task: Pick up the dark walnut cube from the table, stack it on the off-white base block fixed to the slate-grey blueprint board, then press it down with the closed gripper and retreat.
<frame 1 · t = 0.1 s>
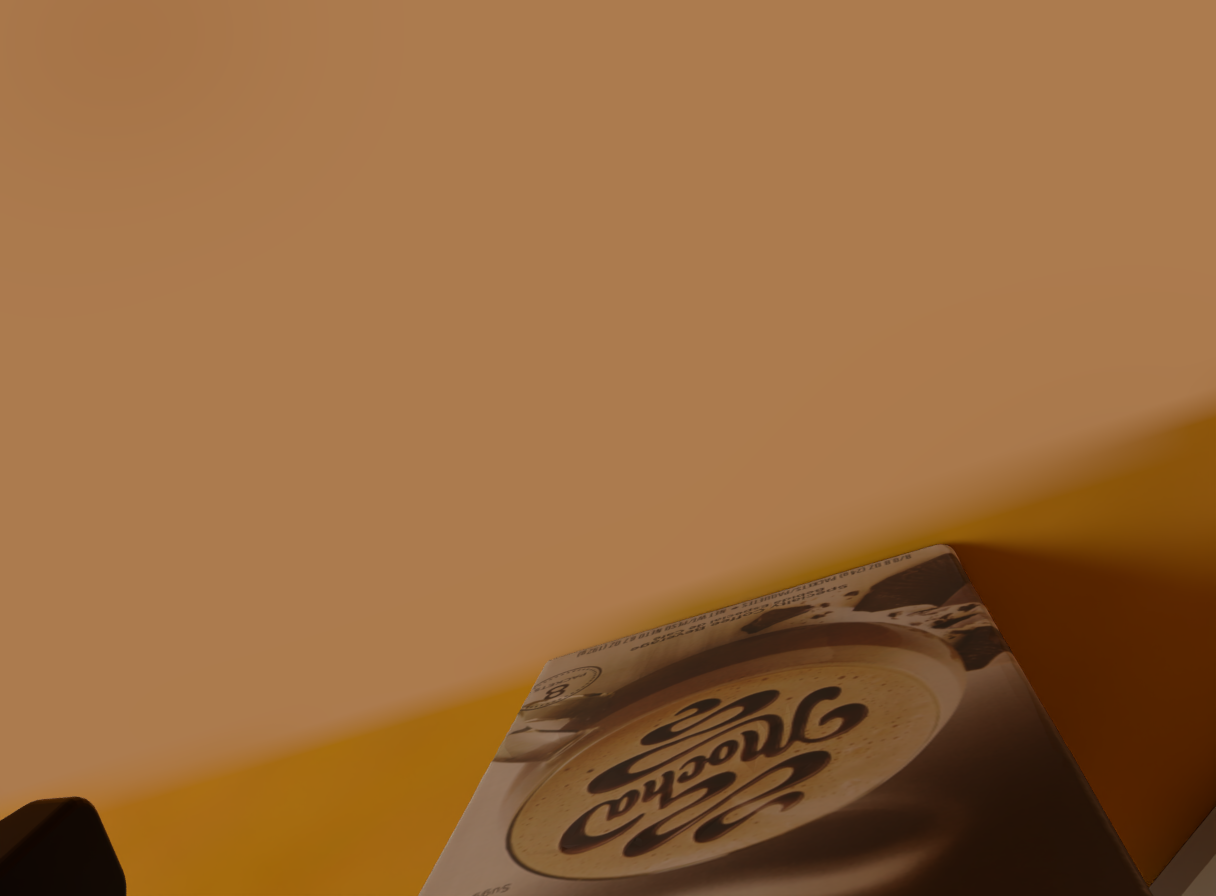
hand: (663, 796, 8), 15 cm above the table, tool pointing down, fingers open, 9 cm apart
coffee box: (783, 727, 25), on the table
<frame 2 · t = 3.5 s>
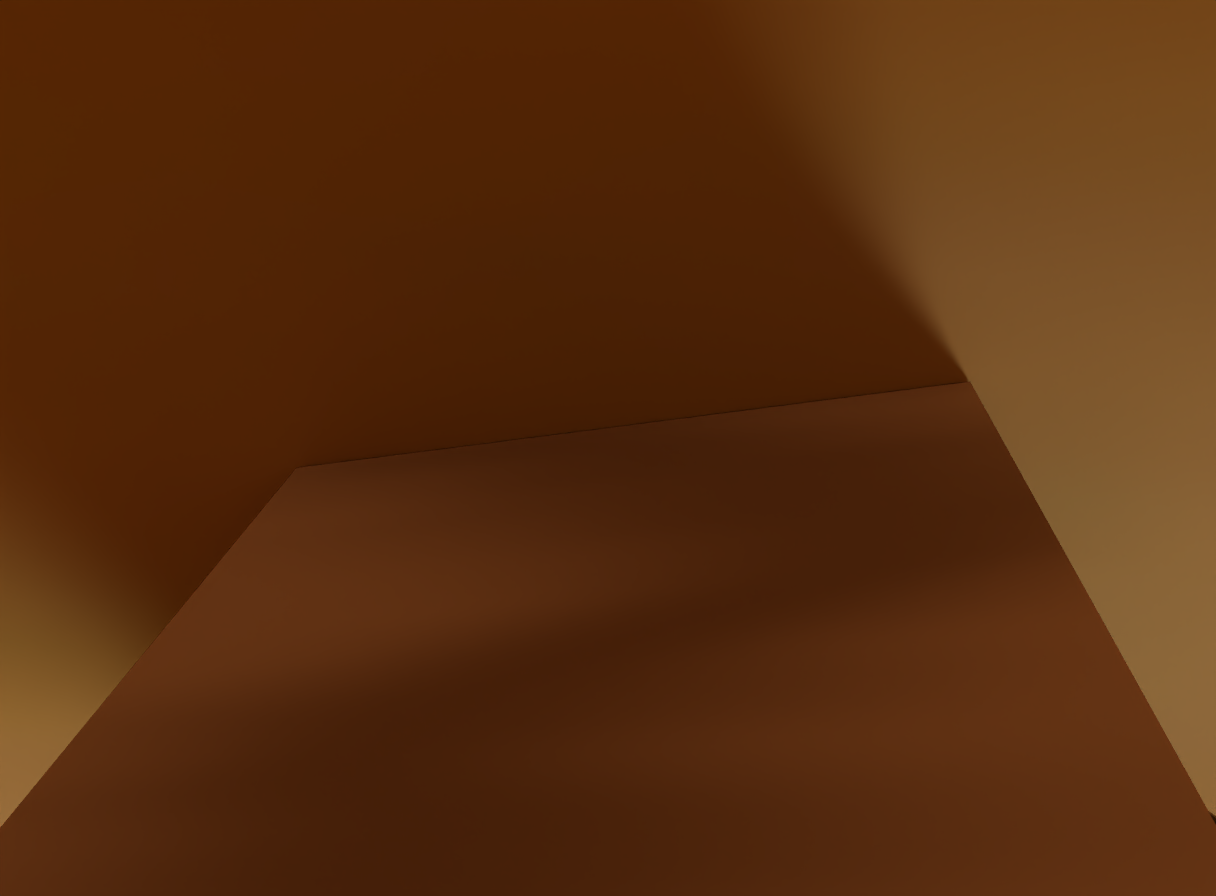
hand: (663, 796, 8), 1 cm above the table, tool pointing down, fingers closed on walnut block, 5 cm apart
walnut block: (670, 708, 9), on the table, touching gripper
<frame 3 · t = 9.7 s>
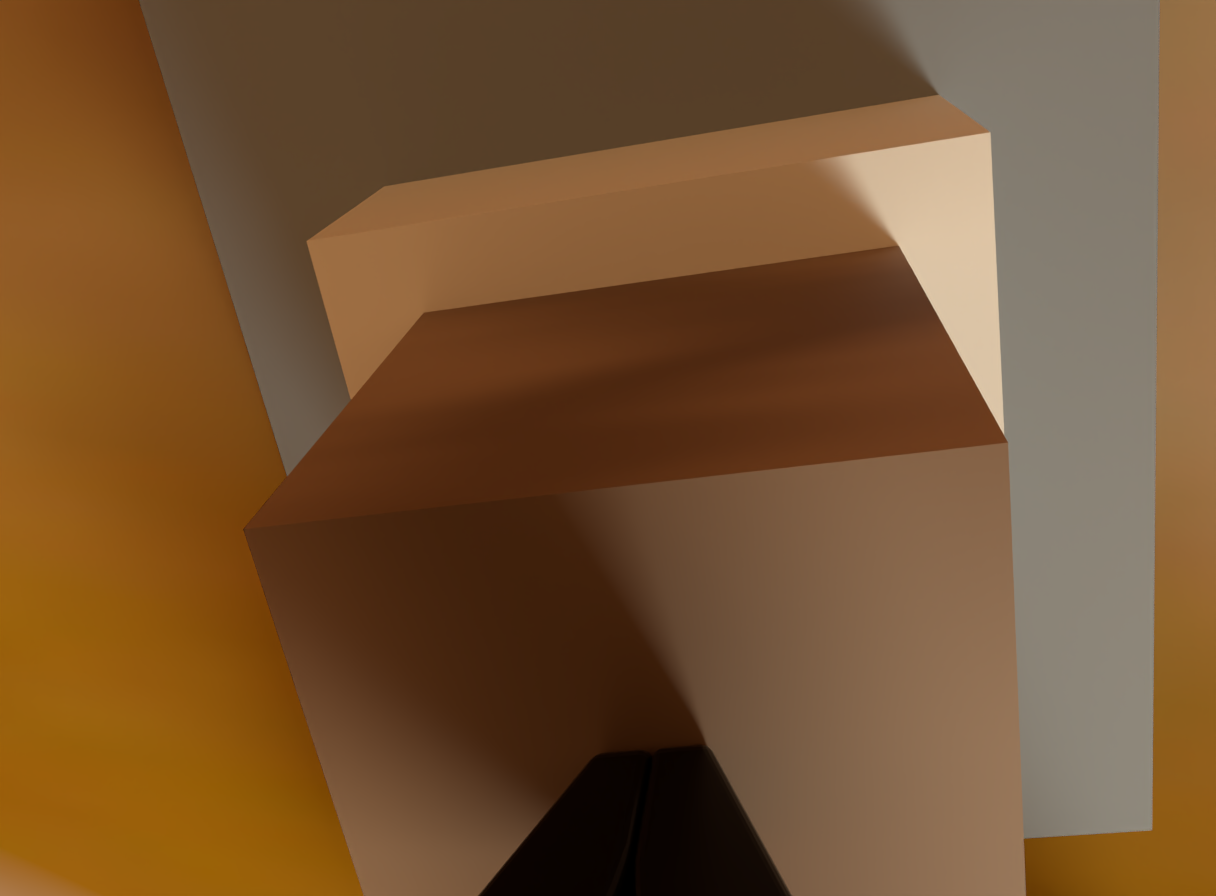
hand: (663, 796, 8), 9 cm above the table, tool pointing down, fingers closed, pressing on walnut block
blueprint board: (693, 376, 17), on the table
walnut block: (687, 494, 13), point 4 cm above the table, touching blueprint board, gripper
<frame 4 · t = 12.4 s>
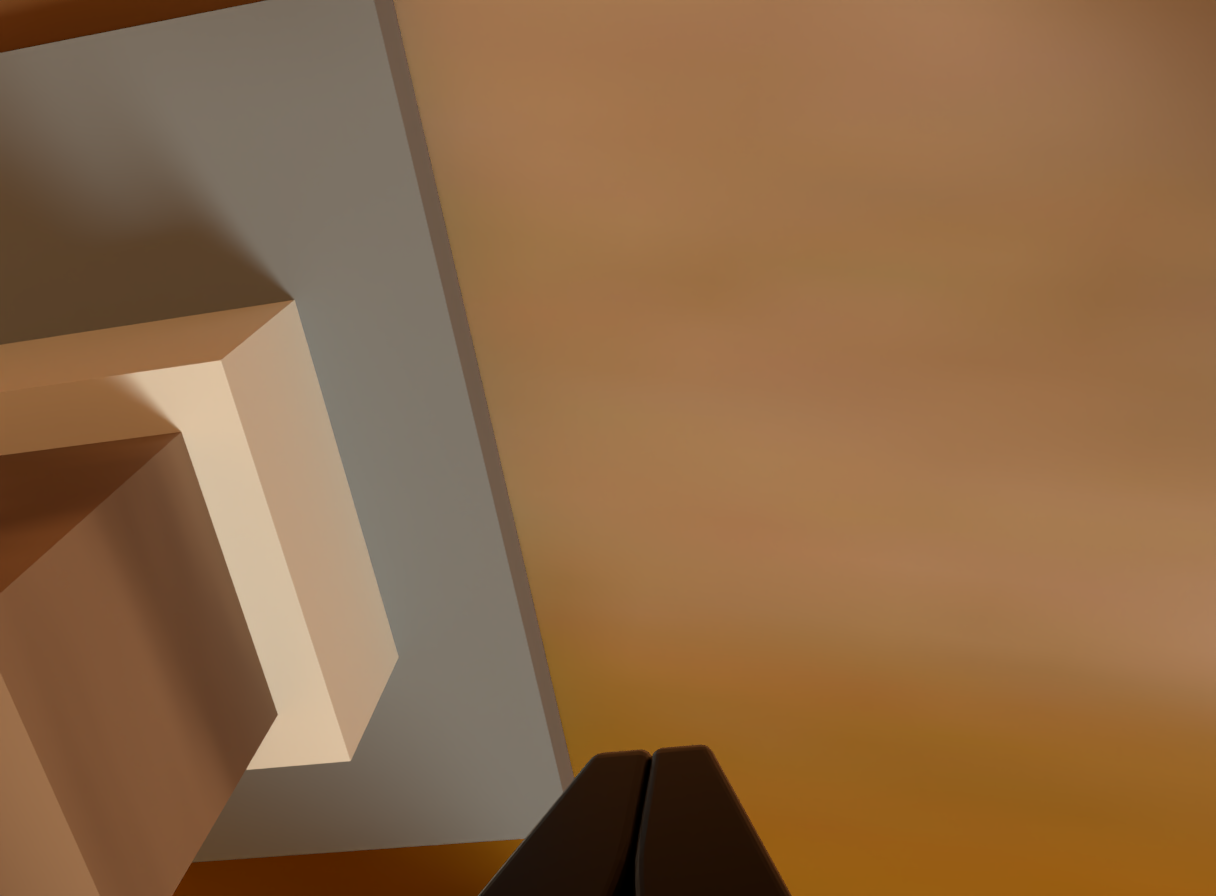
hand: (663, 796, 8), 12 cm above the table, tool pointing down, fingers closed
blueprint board: (190, 489, 22), on the table
walnut block: (83, 596, 18), point 4 cm above the table, touching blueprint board
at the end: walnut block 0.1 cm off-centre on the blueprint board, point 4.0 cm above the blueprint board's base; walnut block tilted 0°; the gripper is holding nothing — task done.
